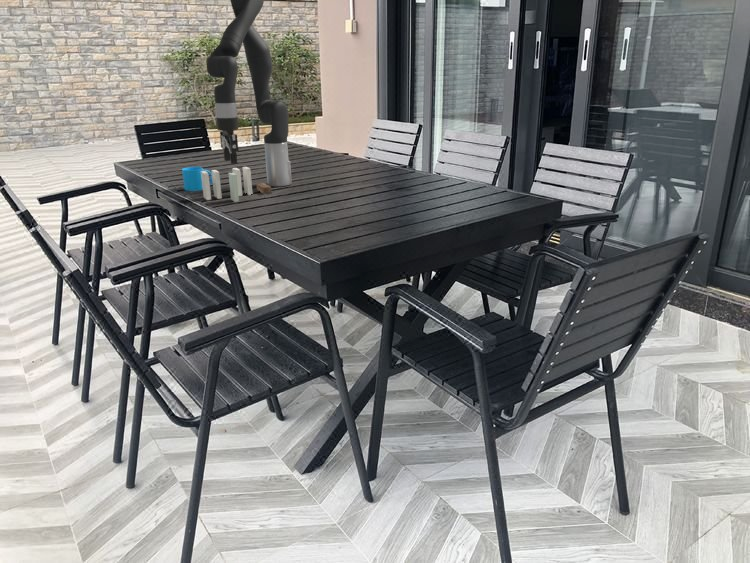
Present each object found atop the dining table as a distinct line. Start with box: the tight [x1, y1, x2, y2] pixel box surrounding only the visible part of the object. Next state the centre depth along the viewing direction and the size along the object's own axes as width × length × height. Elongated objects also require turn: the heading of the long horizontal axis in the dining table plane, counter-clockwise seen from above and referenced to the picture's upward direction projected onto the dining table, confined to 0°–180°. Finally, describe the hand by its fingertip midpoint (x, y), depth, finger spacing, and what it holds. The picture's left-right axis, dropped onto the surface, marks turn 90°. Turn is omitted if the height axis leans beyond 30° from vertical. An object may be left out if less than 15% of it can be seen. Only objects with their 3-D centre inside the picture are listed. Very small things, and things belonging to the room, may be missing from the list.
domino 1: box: [201, 171, 212, 201], centre depth 230 cm, size 2×5×10 cm, turn 28°
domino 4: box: [228, 171, 240, 203], centre depth 226 cm, size 2×5×10 cm, turn 28°
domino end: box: [242, 166, 254, 196], centre depth 237 cm, size 2×5×10 cm, turn 28°
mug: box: [181, 166, 213, 192], centre depth 248 cm, size 12×8×8 cm
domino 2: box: [210, 169, 223, 199], centre depth 231 cm, size 2×5×10 cm, turn 28°
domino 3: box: [232, 167, 243, 197], centre depth 235 cm, size 2×5×10 cm, turn 28°
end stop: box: [255, 182, 272, 195], centre depth 241 cm, size 3×9×2 cm, turn 28°
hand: (230, 162), depth 222 cm, fingers open, 8 cm apart
